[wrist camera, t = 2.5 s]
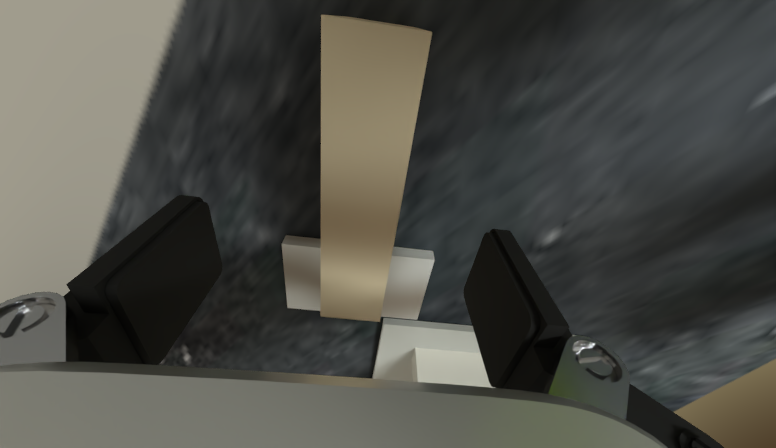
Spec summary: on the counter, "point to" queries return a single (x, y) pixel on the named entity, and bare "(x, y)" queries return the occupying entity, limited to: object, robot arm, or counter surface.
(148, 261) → the robot arm
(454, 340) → the mat
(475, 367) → the tile
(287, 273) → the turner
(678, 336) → the counter surface
